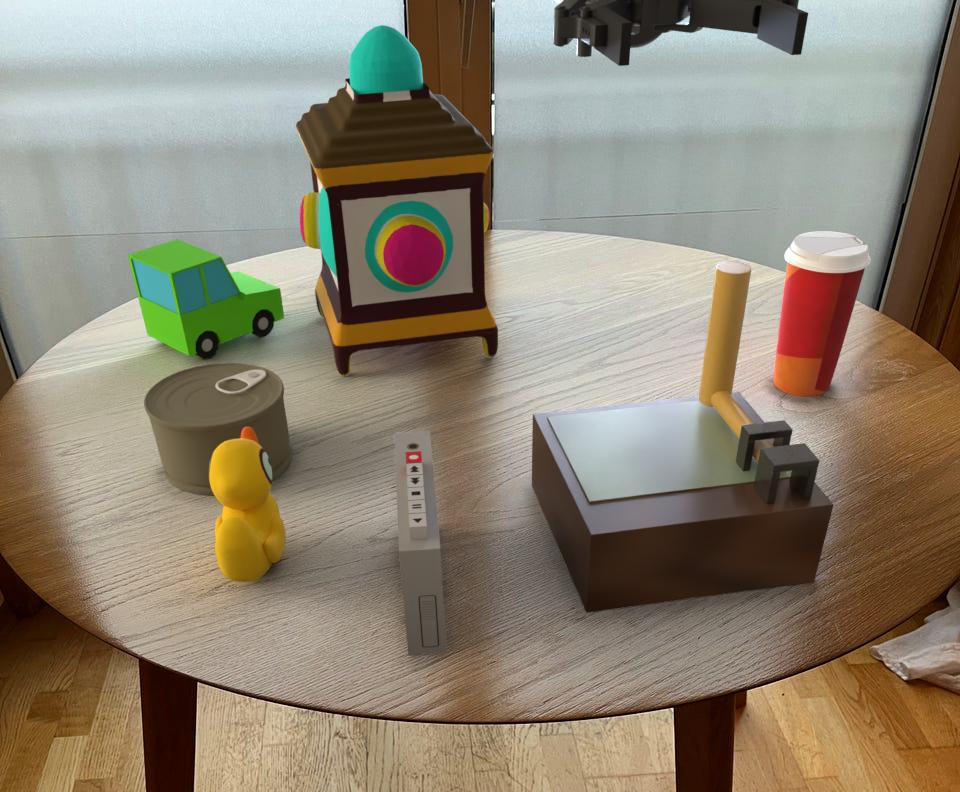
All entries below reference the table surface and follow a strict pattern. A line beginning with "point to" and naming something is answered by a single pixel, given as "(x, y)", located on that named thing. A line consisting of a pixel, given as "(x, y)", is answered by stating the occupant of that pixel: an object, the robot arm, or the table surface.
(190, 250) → the toy car
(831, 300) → the paper cup
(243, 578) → the duckling
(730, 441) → the chest
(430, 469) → the cassette player
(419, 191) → the decorative lantern
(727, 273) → the bolt
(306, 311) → the table surface
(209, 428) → the can
